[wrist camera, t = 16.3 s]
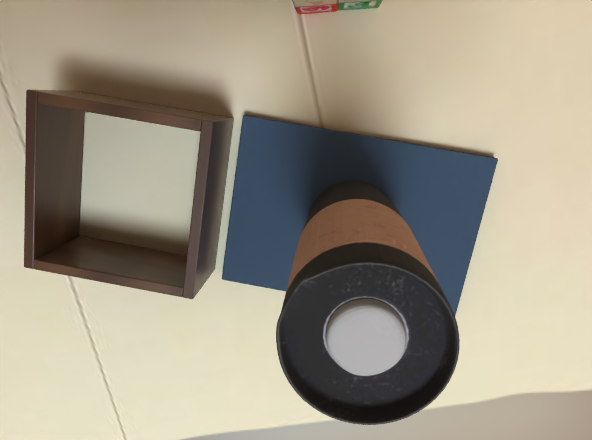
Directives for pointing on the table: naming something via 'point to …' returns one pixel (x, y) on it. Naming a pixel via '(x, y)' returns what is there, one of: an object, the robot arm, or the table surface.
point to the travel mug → (364, 312)
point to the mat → (339, 168)
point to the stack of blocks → (333, 5)
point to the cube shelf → (67, 191)
